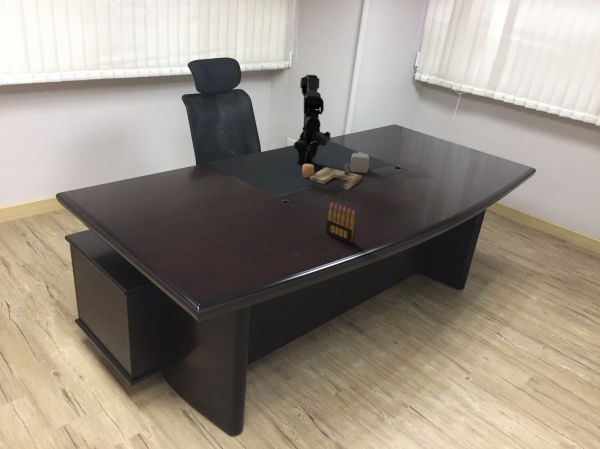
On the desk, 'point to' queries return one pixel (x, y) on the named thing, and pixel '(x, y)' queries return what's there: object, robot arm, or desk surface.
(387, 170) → the desk surface
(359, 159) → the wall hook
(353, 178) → the pale wood u-shaped block
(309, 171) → the tan rounded cone
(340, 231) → the ammunition clip
